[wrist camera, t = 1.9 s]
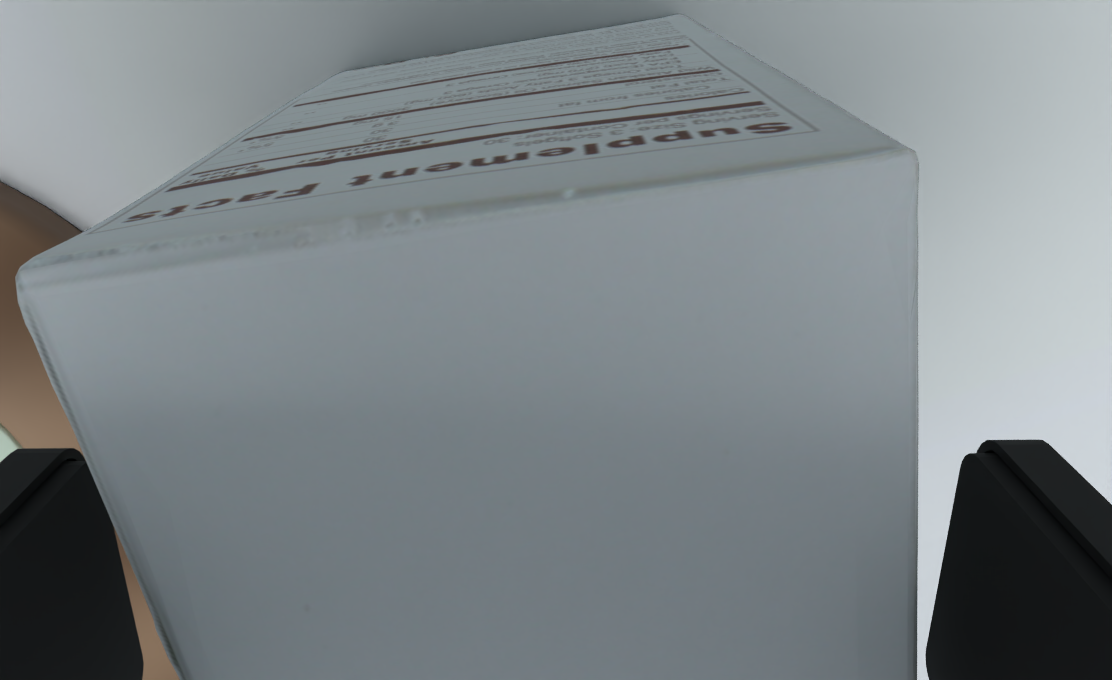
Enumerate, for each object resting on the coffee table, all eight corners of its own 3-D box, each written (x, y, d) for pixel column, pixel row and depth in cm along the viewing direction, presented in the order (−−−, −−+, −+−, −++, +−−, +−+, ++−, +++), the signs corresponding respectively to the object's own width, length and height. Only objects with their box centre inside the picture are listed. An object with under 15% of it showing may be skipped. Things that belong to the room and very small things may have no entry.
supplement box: (719, 339, 21) (929, 837, 10) (404, 381, 21) (240, 910, 10) (694, 2, 18) (955, 137, 7) (327, 58, 18) (-38, 280, 7)
